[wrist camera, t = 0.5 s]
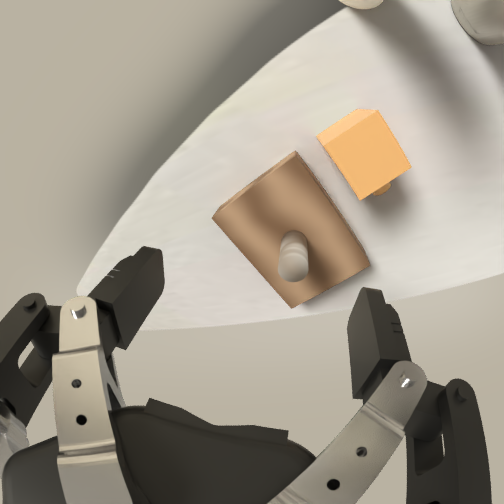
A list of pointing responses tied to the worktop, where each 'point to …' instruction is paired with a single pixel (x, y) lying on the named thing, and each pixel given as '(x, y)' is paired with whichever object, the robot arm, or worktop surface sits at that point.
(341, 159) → the peach foam cube
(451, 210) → the worktop surface
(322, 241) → the brown slab
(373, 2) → the cylindrical container
